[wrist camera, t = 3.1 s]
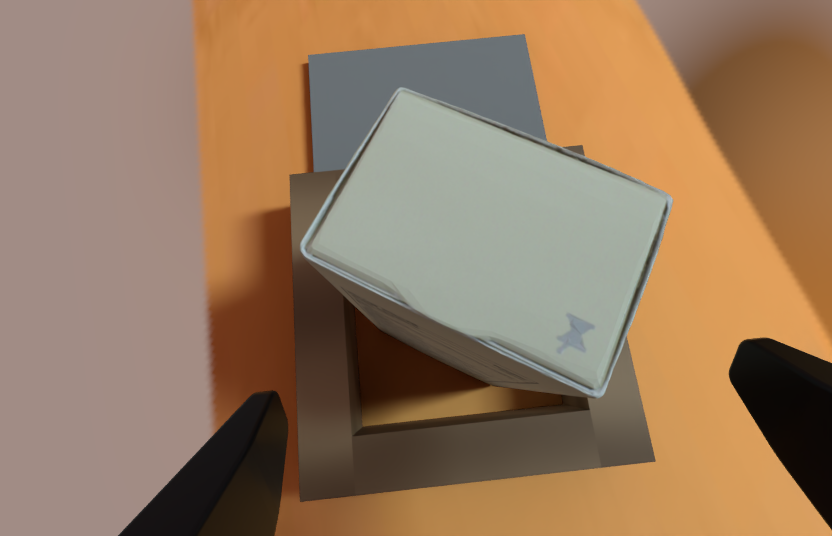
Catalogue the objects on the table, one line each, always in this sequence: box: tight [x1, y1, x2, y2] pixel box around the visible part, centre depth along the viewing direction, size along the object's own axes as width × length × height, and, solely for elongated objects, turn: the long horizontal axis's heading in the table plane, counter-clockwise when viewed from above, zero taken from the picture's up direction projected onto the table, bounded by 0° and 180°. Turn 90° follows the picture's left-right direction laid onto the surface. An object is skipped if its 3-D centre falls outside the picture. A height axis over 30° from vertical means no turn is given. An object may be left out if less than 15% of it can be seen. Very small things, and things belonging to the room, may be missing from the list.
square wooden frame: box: [290, 145, 655, 502], centre depth 18 cm, size 13×13×3 cm
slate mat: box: [308, 34, 547, 172], centre depth 22 cm, size 8×12×1 cm, turn 96°
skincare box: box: [300, 87, 673, 399], centre depth 14 cm, size 6×4×12 cm
